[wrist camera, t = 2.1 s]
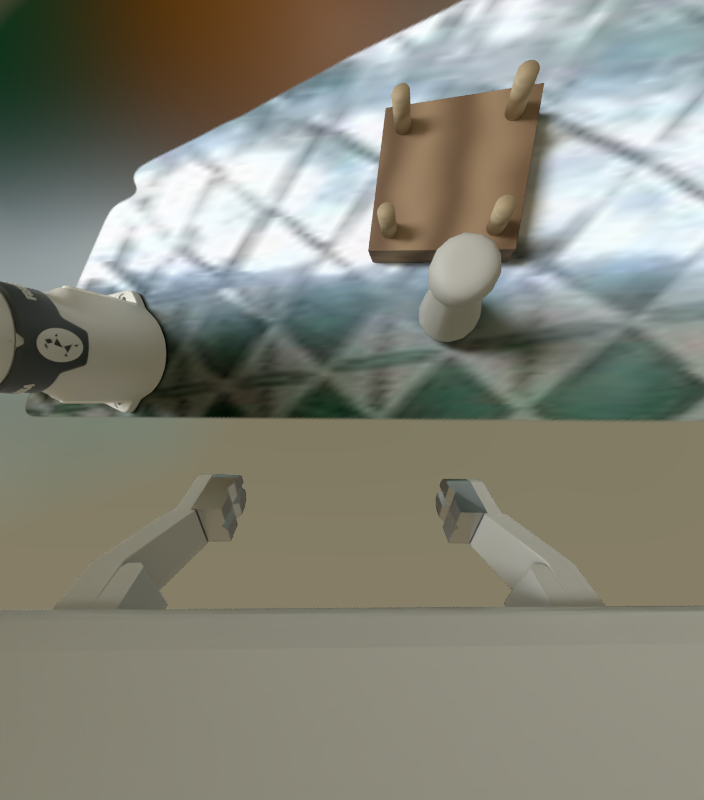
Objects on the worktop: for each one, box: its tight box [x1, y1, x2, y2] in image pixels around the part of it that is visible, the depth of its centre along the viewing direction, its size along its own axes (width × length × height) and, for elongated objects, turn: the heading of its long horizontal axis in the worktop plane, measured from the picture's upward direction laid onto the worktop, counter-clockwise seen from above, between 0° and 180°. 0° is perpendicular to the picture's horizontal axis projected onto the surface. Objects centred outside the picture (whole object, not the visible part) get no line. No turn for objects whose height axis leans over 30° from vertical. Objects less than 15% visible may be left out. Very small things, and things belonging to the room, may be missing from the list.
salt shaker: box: [419, 233, 501, 342], centre depth 21 cm, size 6×6×13 cm
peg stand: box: [368, 60, 544, 262], centre depth 24 cm, size 14×14×6 cm
